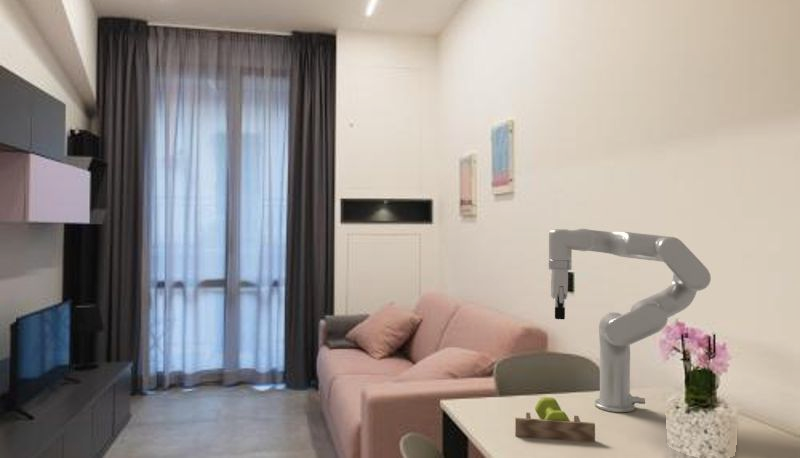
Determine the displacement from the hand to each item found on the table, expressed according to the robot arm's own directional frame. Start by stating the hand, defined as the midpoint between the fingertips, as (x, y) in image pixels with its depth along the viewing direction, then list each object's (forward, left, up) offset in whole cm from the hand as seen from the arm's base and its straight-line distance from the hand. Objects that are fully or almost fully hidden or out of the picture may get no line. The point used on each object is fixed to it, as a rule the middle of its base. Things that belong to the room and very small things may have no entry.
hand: (559, 318), depth 197 cm
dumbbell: (+4, +25, -30) cm, 39 cm away
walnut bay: (+4, +28, -29) cm, 41 cm away
